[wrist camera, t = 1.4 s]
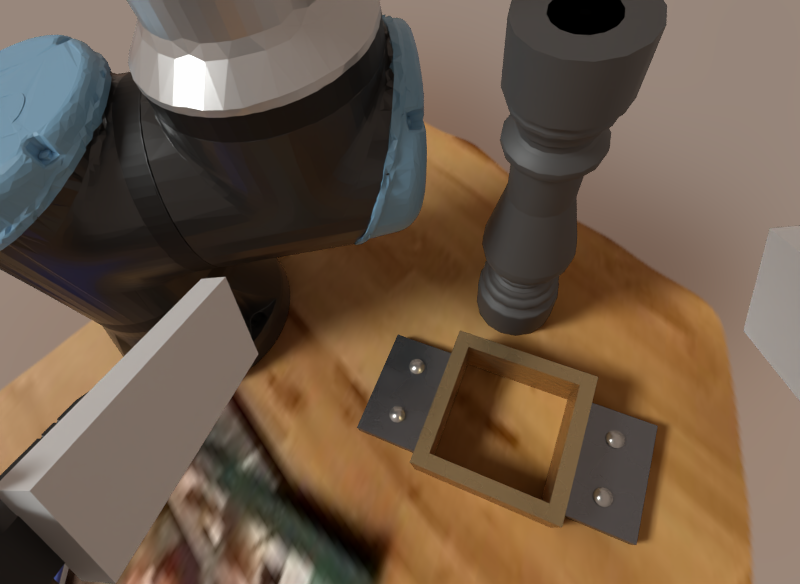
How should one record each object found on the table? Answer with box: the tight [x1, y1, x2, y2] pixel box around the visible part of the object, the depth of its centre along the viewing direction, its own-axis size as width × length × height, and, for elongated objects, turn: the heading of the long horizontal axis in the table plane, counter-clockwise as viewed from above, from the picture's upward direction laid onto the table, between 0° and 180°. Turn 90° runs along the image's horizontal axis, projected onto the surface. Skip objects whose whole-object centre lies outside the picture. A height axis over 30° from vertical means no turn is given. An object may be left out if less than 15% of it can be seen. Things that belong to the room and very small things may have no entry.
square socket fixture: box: [357, 331, 657, 545], centre depth 33 cm, size 20×10×4 cm, turn 67°
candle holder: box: [477, 0, 667, 336], centre depth 28 cm, size 6×6×25 cm
